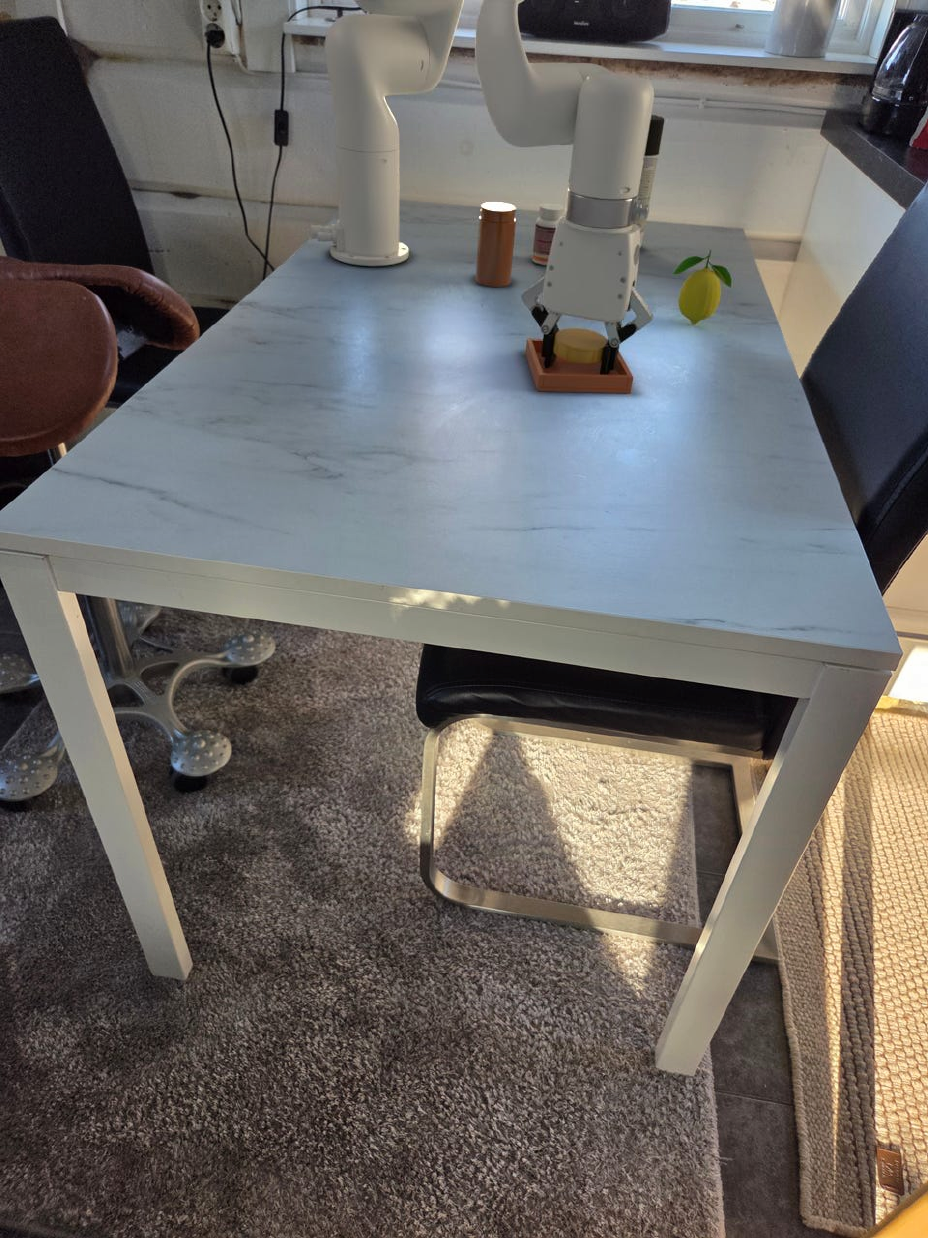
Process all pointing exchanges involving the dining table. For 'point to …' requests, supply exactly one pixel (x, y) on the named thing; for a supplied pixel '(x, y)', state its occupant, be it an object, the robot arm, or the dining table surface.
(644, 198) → the spray can
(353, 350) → the dining table surface
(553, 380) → the tray
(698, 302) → the lemon
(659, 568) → the dining table surface
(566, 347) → the jar lid
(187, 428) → the dining table surface
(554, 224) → the pill bottle
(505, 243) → the brown jar
